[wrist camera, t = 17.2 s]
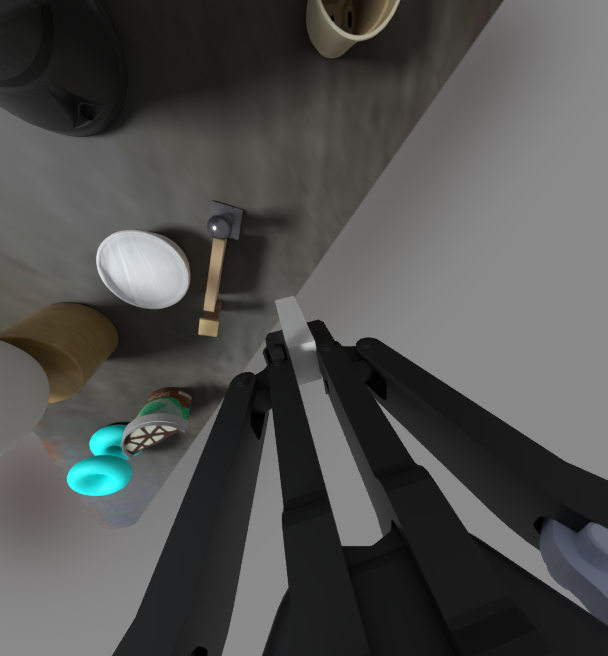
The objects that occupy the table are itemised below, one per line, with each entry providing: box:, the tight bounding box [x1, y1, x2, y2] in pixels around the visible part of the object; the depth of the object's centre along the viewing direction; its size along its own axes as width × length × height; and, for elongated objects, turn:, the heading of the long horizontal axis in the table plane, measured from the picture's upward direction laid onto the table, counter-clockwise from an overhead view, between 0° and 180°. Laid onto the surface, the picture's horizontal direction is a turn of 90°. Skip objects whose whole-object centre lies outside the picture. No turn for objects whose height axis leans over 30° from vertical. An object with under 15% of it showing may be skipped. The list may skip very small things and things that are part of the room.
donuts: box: [67, 424, 142, 496], centre depth 47 cm, size 10×10×10 cm
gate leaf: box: [204, 238, 227, 312], centre depth 35 cm, size 10×1×7 cm, turn 162°
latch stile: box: [198, 300, 222, 337], centre depth 38 cm, size 3×3×9 cm
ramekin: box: [96, 229, 190, 309], centre depth 34 cm, size 11×11×5 cm
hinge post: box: [207, 201, 243, 240], centre depth 31 cm, size 4×4×11 cm
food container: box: [121, 387, 192, 460], centre depth 44 cm, size 12×6×10 cm, turn 115°
